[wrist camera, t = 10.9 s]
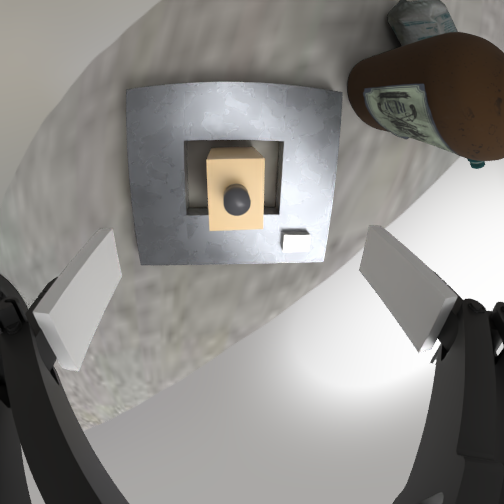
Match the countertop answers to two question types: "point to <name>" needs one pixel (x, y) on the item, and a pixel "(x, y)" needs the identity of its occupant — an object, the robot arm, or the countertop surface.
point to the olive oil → (436, 94)
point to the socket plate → (232, 128)
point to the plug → (235, 188)
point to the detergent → (422, 27)
